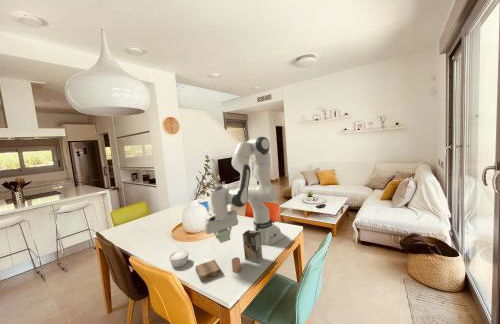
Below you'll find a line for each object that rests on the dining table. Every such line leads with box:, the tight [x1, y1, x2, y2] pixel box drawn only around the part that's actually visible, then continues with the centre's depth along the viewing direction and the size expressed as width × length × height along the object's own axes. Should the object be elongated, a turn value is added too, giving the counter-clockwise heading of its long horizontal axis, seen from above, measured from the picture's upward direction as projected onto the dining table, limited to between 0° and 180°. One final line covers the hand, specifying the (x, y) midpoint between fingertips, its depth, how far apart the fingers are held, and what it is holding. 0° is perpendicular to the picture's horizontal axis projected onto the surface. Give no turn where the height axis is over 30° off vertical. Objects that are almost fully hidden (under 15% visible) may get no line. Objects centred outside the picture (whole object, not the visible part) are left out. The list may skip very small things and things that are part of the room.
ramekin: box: [168, 249, 189, 268], centre depth 127 cm, size 11×11×5 cm
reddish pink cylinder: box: [230, 257, 242, 274], centre depth 115 cm, size 5×5×6 cm
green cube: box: [216, 228, 231, 244], centre depth 125 cm, size 6×6×6 cm
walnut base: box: [195, 259, 222, 283], centre depth 115 cm, size 11×11×3 cm
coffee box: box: [242, 229, 264, 264], centre depth 124 cm, size 9×6×16 cm
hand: (223, 235), depth 125 cm, fingers closed on green cube, 6 cm apart
